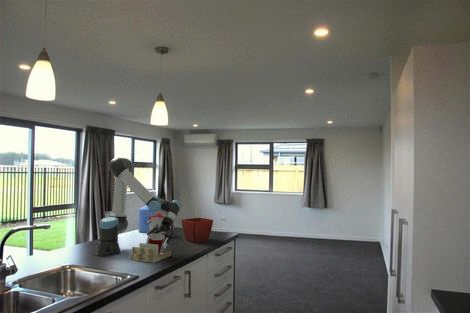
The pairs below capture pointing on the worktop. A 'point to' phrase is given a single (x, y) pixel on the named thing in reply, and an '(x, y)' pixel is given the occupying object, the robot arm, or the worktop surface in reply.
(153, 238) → the plastic cup
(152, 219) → the citrus juicer
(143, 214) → the water jug
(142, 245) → the pusher
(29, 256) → the worktop surface
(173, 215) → the robot arm
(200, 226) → the plant pot
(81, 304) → the worktop surface
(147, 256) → the wooden tray
